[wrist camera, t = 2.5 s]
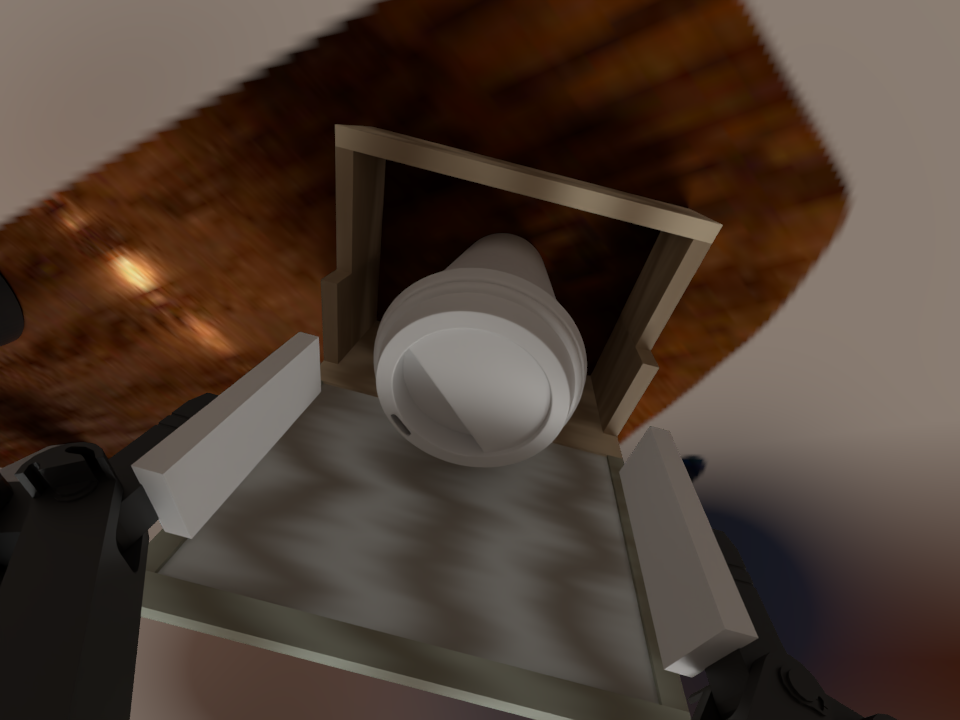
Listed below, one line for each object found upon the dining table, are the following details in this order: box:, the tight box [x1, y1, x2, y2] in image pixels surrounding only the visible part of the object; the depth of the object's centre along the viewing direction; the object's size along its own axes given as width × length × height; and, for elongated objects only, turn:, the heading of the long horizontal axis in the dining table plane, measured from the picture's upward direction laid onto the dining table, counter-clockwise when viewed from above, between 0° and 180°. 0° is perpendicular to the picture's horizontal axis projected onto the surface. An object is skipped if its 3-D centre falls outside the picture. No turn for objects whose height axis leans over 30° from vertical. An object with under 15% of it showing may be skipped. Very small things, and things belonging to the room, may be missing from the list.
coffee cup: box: [374, 233, 587, 467], centre depth 21 cm, size 10×10×15 cm
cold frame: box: [141, 124, 722, 720], centre depth 18 cm, size 21×16×22 cm
